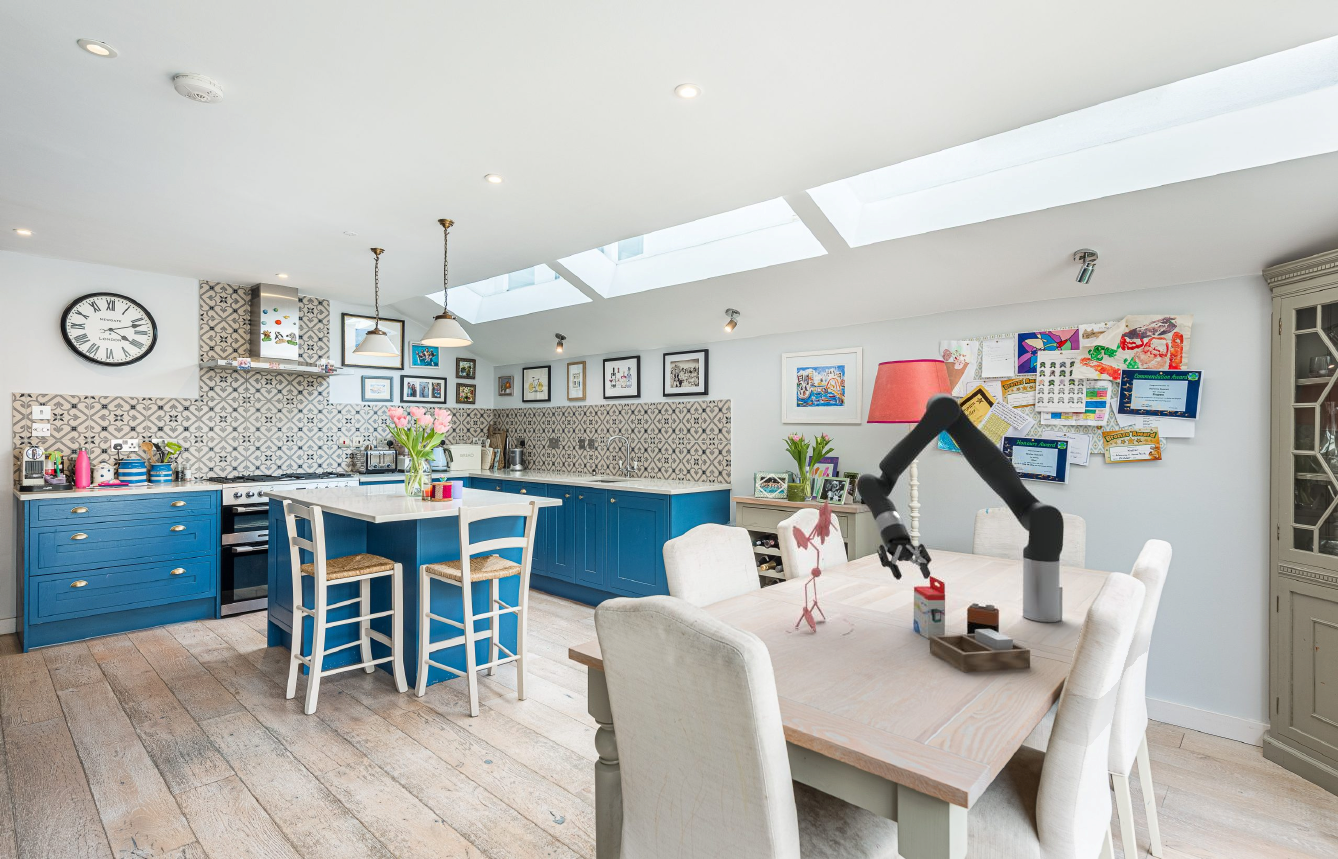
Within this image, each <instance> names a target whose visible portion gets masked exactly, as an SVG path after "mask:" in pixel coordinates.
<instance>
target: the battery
mask: <svg viewBox="0 0 1338 859" xmlns="http://www.w3.org/2000/svg"><path fill="white" fill-rule="evenodd" d="M976 629H991V630H994V631H996V632H998V633H1000V631H999V629H1000V610H999V608H996V606H995V605H993V604H985V606H984V605H980V604H979V603H976V602H974V603H972V604H970V605H969V606H968V607H967V610H966V634H975V630H976Z"/></svg>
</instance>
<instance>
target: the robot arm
mask: <svg viewBox="0 0 1338 859" xmlns="http://www.w3.org/2000/svg"><path fill="white" fill-rule="evenodd" d="M944 431H945V433H947V434H948V435H949V437H950V438H952V440H953V441H954V442H955V444H956V446H957V447H958V448H959V451H960V452H961V454H962V455H963V457H964V458H965V460H966V461H967V462H968V464H969V465H970V466H971V468H972V469H973V470H974V471H975V472H976V474H978V476H979V477H980V478H981V479H982V480H983V481H984V482H985V483H986V484H987V486H989V488H990V489H992V491H993V492H994V493H995V494H997V496H999V498H1001V500H1002V501H1003V502H1004V503H1005V504H1006V505H1007V507H1008V508H1009V510H1011V512H1012V514H1013V515H1014V517H1015V519H1017V521H1018V522H1019V524H1020V525H1021V527H1023V529H1025V530H1026V531H1027V532H1028V540H1027V541H1028V543H1027V545H1025V547H1023V550H1022V616H1023V617H1024V618H1025V619H1027V620H1031V621H1036V622H1040V623H1041V622H1043V623H1056V622H1059V621H1062V620H1063V594H1064V593H1063V586H1061V585H1060V583H1061V582H1060V573H1061V572H1060V570H1061V569H1060V567H1061V566H1060V563H1061V562H1060V560H1061V559H1060V558H1061V557H1060V556H1061V554H1062V551H1063V546H1064V532H1065V530H1064V528H1065V526H1064V525H1065V524H1064V517H1063V514H1062V512H1061V511H1060V510H1059V508H1057V507H1055V506H1054V505H1051V504H1046V503H1044V502H1042V501H1040V500H1039V499H1038V498H1037V497H1035V496H1034V494H1032V492H1031V491H1030V490H1029V489H1027V487H1026V486H1025V485H1024V484H1023V481H1022V480H1021V478H1020V475H1019V473H1018V471H1017V469H1016V467H1015V466H1014V464H1013V462H1012V461H1011V460H1010V459H1009V458H1008V456H1007V455H1006V454H1005V453H1004V452H1003V451H1002V449H1001V448H1000V447H998V446H997V444H996V443H995V442H994V441H993V440H992V439H990V437H988V436H987V435H986V434H985V432H983V431H982V430H981V429H980V428H978V427H977V426H976V424H975V423H973V422H972V420H971V419H970V417H969V416H968V415H967V414H966V412H965V410H964V409H963V407H962V406H961V405H960V403H959V402H958V400H957V399H956V398H955V396H953V395H951V394H949V393H945V392H937V393H935V394H933V395H932V396H931V397H929V399H928V400H927V402H926V405H925V412H924V414H923V416H922V417H921V418H920V420H919V421H918V422H917V424H916V425H915V426H914V428H913V429H911V431H909V433H907V435H905V436H904V437H903V438H902V439H901V440H899V442H897V443H896V444H895V445H894V446H893V447H892V448H891V449H890V450H889V451H888V452H887V454H886V455H885V456H884V457H883V458H882V459H881V461H880V462H879V464H878V467H879V470H880V471H881V475H880V476H879V477H878V476H876V475H874V474H871V473H864V474H862V475H860V476H859V477H858V480H857V482H856V489H857V492H858V494H859V496H860V497H861V499H862V500H863V502H864V504H865V505H866V506H867V507H868V509H869V510H870V512H871V515H872V517H873V519H874V521H875V524H876V528H877V530H878V533H879V536H880V539H881V540H882V542H883V544H884V545H883V544H880V545H879V546H878V548H877V550H876V552H877V555H878V558H879V561H880V564H881V567H883V568H886V567H887V568H888V569H890V572H891V573H892V576H893V578H894V579H895V580H897V581H898V580H901V579H902V576H903V575H902V572H901V571H900V567H899V566H898V564H896V563H897V562H904V561H905V562H911V563H912V564H915V565H916V566H918V567H919V570H920V572H921V574H922V576H923V578H924V579H925V580H926V579H927V580H928V579H930V578H929V577H930V576H931V570H930V569H929V567H928V566H929V564H930V563H931V562H932V558H931V556H930V554H929V552H928V551H927V548H926V547H925V545H924V544H923V543H920V544H919V545H914V544H913V543H912V540H911V538H912V537H910V534H909V531H908V530H907V528H906V525H905V523H904V522H903V519H902V518H901V516H900V515H899V512H898V511H897V509H896V506H895V504H894V502H893V501H892V500H891V499H890V498H889V496H890V495H891V493H892V491H893V489H894V488H895V486H896V484H897V482H898V479H899V478H900V476H901V475H902V474H903V473H904V472H905V471H906V469H908V467H909V466H911V464H912V463H913V462H914V461H915V460H916V458H917V457H918V456H919V455H920V454H921V452H923V450H924V449H925V448H926V447H927V446H928V445H930V443H931V442H932V441H934V439H935V438H936V437H938V436H939V435H940V434H942V433H943V432H944ZM888 554H889V555H890V556H891V558H889V556H888ZM913 557H914V558H913Z"/></svg>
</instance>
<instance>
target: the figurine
mask: <svg viewBox="0 0 1338 859" xmlns="http://www.w3.org/2000/svg"><path fill="white" fill-rule="evenodd" d="M832 510H833V509H832V507H831V506H830V507H829V500H828V498H827V499H825V501H824V505H820V506H819V509H818V515H819V516H818V521H817V522H816V524H815V526H814V527H813V529H812V530H811V532H810V533H809V535H808V536H806V533H805V532H804V531H803V530H802V529H801V528H799V527H798V526H796V525H793V526H792V535H793V538H794V540H795V541H796V545H797V549H800V548H801V547H802V549H804V550H806V551H807V550H808V548H809V544H810V545H811V546H812V547H813V548H814V549H815V550H816V554H817V555H816V556H817V557H816V566H815V567H813V568H812V569H811V571H810V574H811V576H812V577H811V578H810V579H809V580H808V581H807V582H806V583H805V584H804V591H805V592H804V593H805V606H803V607H802V614H801V617H800V618H799V620H798V621H797V623H796V625H795V628H796V627H797V628H798V627H799V625H800V624H801V622H802V620H803V619H804V620H805V621H806V622H807V624H808V625H809V627H810V628H811V630H812V631H813V632H814V633H816V632H817V627H816V625H817V624H816V621H815V619H814V616H813V614H812V611H813V610H814V609H815V606H816V609H817V610H818V612H819V613H820V615H821V616H822V618H823V619H824V621H826V617H825V616H824V614H823V612H822V610H821V608H820V606H819V605H818V603H819V601H818V600H817V589H816V579H815V578H820V576H821V575H822V570H821V569H820V568H819V565H820V564H819V563H820V550H819V548H817V546H816V545H815V544H814V543H813V542H812V540H814V539H815V537H817V538H819V537H820V538H819V539H820V544H821V546H824V544H825V541H826V538H829V536H830V534H831V530H830V527H831V526H832V528H834V530H836V532H838V531H839V530H838V528H836V526H835V525H834V524H833V523H832ZM811 581H813V589H814V598H815V599H812V601H813V604H812V606H811V608H810V610H809V608H808V592H807V591H808V590H807V589H808V588H807V585H809V583H811ZM842 621H845V622H847V623H848V622H849V621H847V620H846V619H842ZM851 626H852V630H851V631H854V630H853V627H854V625H851ZM851 631H849V632H847V633H844V634H842V636H845V635H847V634H848V635H849V634H850V633H851ZM785 632H786V633H790V634H792V632H791V631H787V630H786V631H785Z"/></svg>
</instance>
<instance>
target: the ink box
mask: <svg viewBox="0 0 1338 859" xmlns="http://www.w3.org/2000/svg"><path fill="white" fill-rule="evenodd" d="M928 579H929V586H925V585H924V586H923V585H922V586H919V585H918V586H914V587H913V622H912V623H913V628H912V629H913V630H914V631H916V632H917V633H919V634H920V635H922V636H923V637H924V638H925V639H929V640H930V636H944V635H946V628H945V627H946V584H945V582H944V581H942V580H940V579H938V578H936V577H933V576H931V575H930V576H929V578H928ZM936 583H937V584H938V585H939V586H938V585H936Z"/></svg>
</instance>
